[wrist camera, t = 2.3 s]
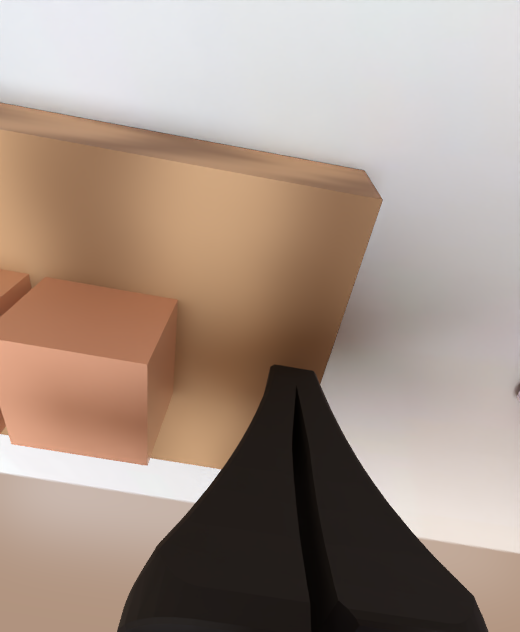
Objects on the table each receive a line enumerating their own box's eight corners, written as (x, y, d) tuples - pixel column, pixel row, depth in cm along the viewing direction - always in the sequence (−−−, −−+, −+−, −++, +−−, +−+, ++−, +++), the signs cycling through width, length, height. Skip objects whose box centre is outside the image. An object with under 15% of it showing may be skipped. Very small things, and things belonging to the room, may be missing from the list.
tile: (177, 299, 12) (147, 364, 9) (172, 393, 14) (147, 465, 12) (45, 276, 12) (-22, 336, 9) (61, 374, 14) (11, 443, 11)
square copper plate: (364, 170, 12) (382, 199, 10) (288, 424, 19) (287, 479, 16) (-88, 86, 12) (-189, 94, 9) (-3, 376, 18) (-49, 426, 16)
